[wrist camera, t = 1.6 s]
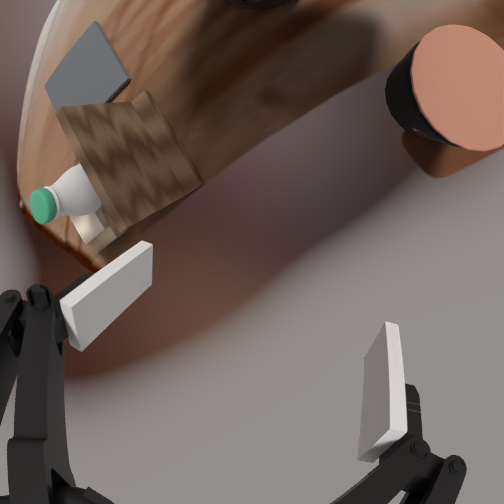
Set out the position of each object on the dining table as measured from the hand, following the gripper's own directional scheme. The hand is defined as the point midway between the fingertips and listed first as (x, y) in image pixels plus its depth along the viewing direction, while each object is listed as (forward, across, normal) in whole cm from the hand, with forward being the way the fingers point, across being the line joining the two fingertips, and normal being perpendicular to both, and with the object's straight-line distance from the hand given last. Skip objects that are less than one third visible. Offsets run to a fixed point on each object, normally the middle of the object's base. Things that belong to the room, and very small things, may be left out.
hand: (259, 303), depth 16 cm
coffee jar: (+29, +11, +16) cm, 35 cm away
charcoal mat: (+29, -44, +10) cm, 54 cm away
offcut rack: (+29, -32, -7) cm, 44 cm away
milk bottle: (+29, -31, -6) cm, 43 cm away
